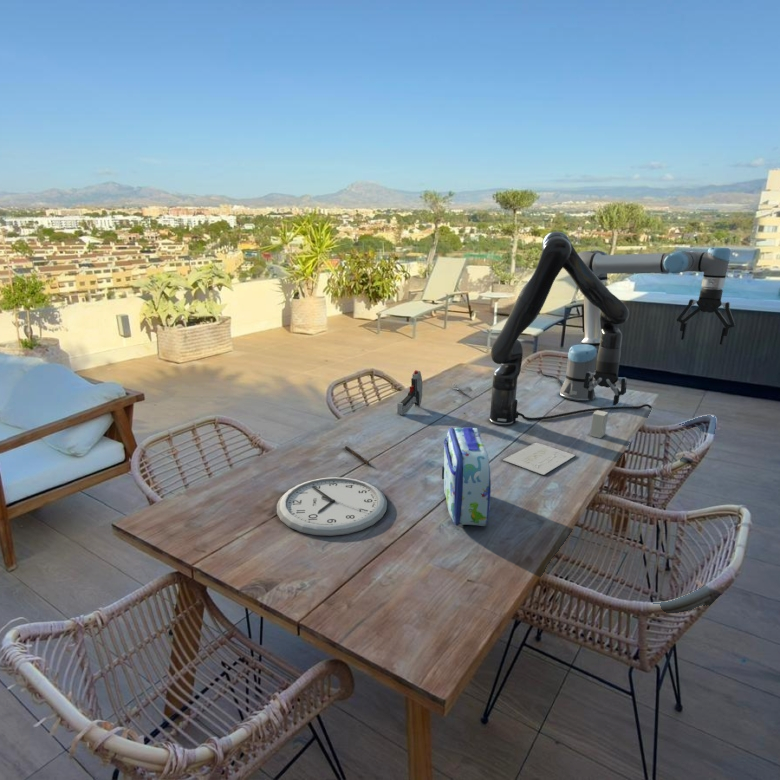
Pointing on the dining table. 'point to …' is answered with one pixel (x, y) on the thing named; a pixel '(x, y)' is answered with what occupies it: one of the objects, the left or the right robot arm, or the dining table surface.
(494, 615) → the dining table surface
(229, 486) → the dining table surface
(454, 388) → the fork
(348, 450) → the brown stick
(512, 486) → the dining table surface
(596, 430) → the brick
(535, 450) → the invitation card
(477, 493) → the lunch box
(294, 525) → the wall clock
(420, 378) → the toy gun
